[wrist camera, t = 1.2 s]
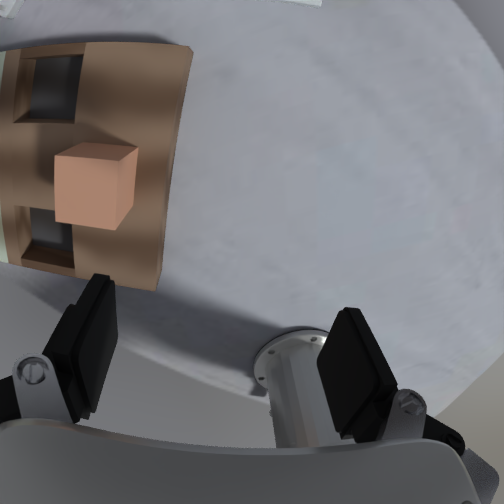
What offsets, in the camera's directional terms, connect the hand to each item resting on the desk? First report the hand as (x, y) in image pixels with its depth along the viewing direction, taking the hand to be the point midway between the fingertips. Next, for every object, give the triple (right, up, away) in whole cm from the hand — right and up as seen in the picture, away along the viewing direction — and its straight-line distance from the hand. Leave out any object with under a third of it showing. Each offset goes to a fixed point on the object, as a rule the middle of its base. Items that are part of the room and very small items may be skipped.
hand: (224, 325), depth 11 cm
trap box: (-18, +12, +15) cm, 26 cm away
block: (-11, +9, +12) cm, 19 cm away
